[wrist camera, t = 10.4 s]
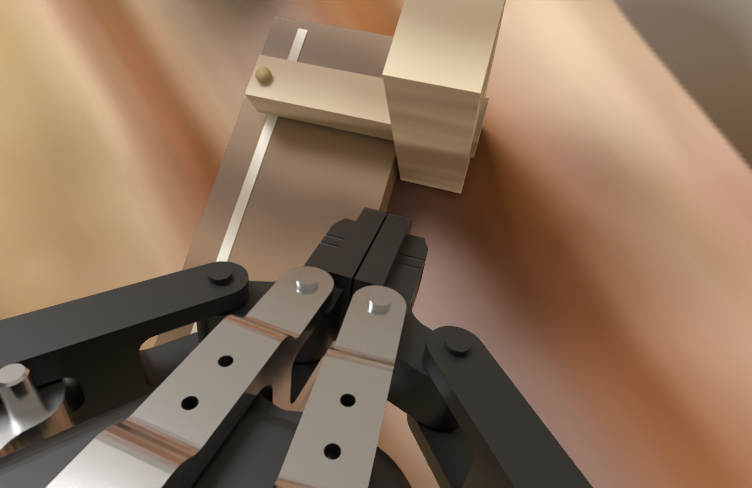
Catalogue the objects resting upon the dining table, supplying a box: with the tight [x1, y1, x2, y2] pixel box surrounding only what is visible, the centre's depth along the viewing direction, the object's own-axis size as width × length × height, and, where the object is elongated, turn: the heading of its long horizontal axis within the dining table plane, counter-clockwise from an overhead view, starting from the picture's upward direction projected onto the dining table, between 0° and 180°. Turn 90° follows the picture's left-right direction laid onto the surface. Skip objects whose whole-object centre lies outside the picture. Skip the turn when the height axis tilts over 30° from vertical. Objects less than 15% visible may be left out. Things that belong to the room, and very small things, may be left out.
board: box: [154, 16, 399, 412], centre depth 22 cm, size 20×8×2 cm, turn 164°
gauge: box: [245, 0, 506, 194], centre depth 19 cm, size 4×10×9 cm, turn 74°
